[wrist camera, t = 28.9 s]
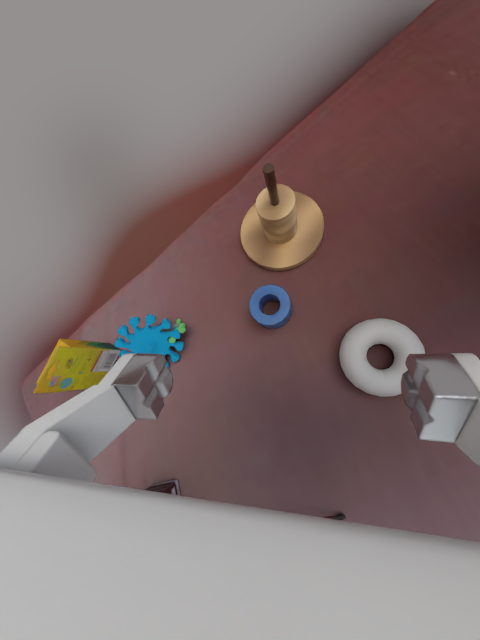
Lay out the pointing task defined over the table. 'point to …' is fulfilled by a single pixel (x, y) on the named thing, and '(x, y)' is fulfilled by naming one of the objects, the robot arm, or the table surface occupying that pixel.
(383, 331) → the donut
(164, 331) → the gear
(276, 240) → the stand
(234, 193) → the table surface
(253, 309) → the ring
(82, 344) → the crayon box
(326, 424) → the table surface
